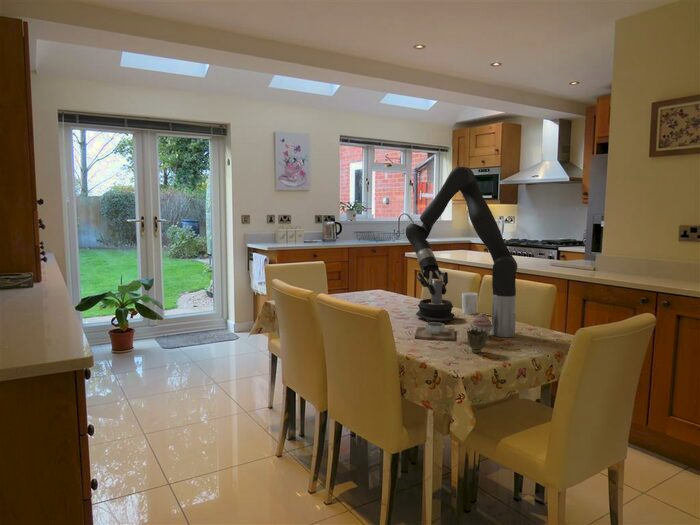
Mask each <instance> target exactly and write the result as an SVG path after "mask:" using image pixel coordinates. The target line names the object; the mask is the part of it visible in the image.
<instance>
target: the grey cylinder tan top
mask: <svg viewBox="0 0 700 525" xmlns="http://www.w3.org/2000/svg"><path fill="white" fill-rule="evenodd" d="M432 285H433V288H434V290H435V294H434V295H432V294H431V295H430V296H431V298H430V299H431V303H432V304H442V299H443V294H442V288H443V278H442V279H432Z"/></svg>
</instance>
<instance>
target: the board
mask: <svg viewBox="0 0 700 525" xmlns="http://www.w3.org/2000/svg"><path fill="white" fill-rule="evenodd" d="M414 339H416V340H431V341H432V340H433V341H446V342H447V341H449V342H455V340H456V339H455V328H446V327H444V334H441V335H431V334H428V333H426V326H425V327H424V326H417V327H416V330H415V334H414Z"/></svg>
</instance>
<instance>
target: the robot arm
mask: <svg viewBox="0 0 700 525" xmlns="http://www.w3.org/2000/svg"><path fill="white" fill-rule="evenodd" d="M459 192H460V193H461V194H462V196H463V197H464V198H463V199H464V200H465V202H466V207H467V212H468V217H469V220H470V223H471V225H472V226H473V228H474V231H475V233H476V235H477V236H478V238H479V239H480V240H481V242H482V243H483V245H485V247H486V248H487V250H488V252H489V254H490V256H491V258H492V261H493V263H492V264H493V265H492V271H491V272H492V275H491V277H492V278H491V279H492V280H491V281H492V282H491V287H492V288H491V289H492V301H491V302H492V303H491V304H492V306H491V307H492V308H491V325H492V326H493V327H492V329H491V331H490V334H491V335H492V336H495V337H499V338H512V337H513V338H515V337H516V320H517V319H516V317H517V315H516V297H517V296H516V294H517V289H516V278H517V277H516V276H517V271H518V263H517V261H516V259H515V257H513V255H512V253H511V251H510V250H509V247H508V246H507V245H506V242H505V240H504V238H503V235H502V233H501V230H500V228H499V226H498V225H499V224H497V221H496V219H495V216H494V214H493V213H492V210H491V209H490V207H489V205H488V203H487V201H486V199H485V198H484V196H483V194H482V192H481V190H480V187H479V184H478V182H477V179H476V175H475V173H474V171H473V170H472V169H471V168H469V167H467V166H457V167H454V168H453V169H452V170H451V171H450V173H449V174H448V176H447V178H446V180H445V181H444V184H442V187H441V188H440V189H439V191H438V192H437V194H436V196H435V197H434V198H433V200H431V201H430V203H429V204H428V206H427V207H426V208H425V209H424V211H423V212H422V213H421V215H420V217H419V220H420V222H421V223H422V224H421V225H420V224H417V223H409V224H408V225H407V226H406V228H405V236H406V238H407V240H408V242H409V244H410V245H411V246H412V248H413V249H414V251H415V256H416V260H417V263H418V265H419V268H420V272H418V273H417V275H416V279H417V280H418V282H420V284H421V286H422V287H423V288H427V289H428V292H429V293H430V294H431V295H434V294H435V290H434V288H433V285H432V279H443V288H442V296H444V295H445V294H446V293H447V292H448V291H447V288H446V286H447V285H448V283H449V276H448V272H447V271H445V272H442V271H441V270H440V266H439V264H438V260H437V259H436V256H435V254H434V251H433V250H432V247H431V244H430V242H429V241H428V240H427V239H428V238H429V235H430V234H431V231H432V229H433V227H434V225H435V223H437V222H438V220H439V218H441V216H442V215H443V213H444V212H445V210H446V208H447V207H448V205H449V203H450V201H451V200H452V198H454V196H455V195H456V194H457V193H459Z"/></svg>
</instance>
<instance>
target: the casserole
mask: <svg viewBox="0 0 700 525" xmlns="http://www.w3.org/2000/svg"><path fill="white" fill-rule="evenodd" d="M417 307H418V308H419V309H418V311H417V312H416V313H415V314H416V316H417V317H419V318H422V319H423V320H427V321H431V322H448V321H452V320H454V317H455V316H456V314H455V313H453V312H452V310H453V308H454V306H453V303H452V301H450V300H449V299H448V300H447V299H444V298H442V304H432V303H431V298H425V299H421V300H420V301H419V302H418V304H417Z"/></svg>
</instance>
